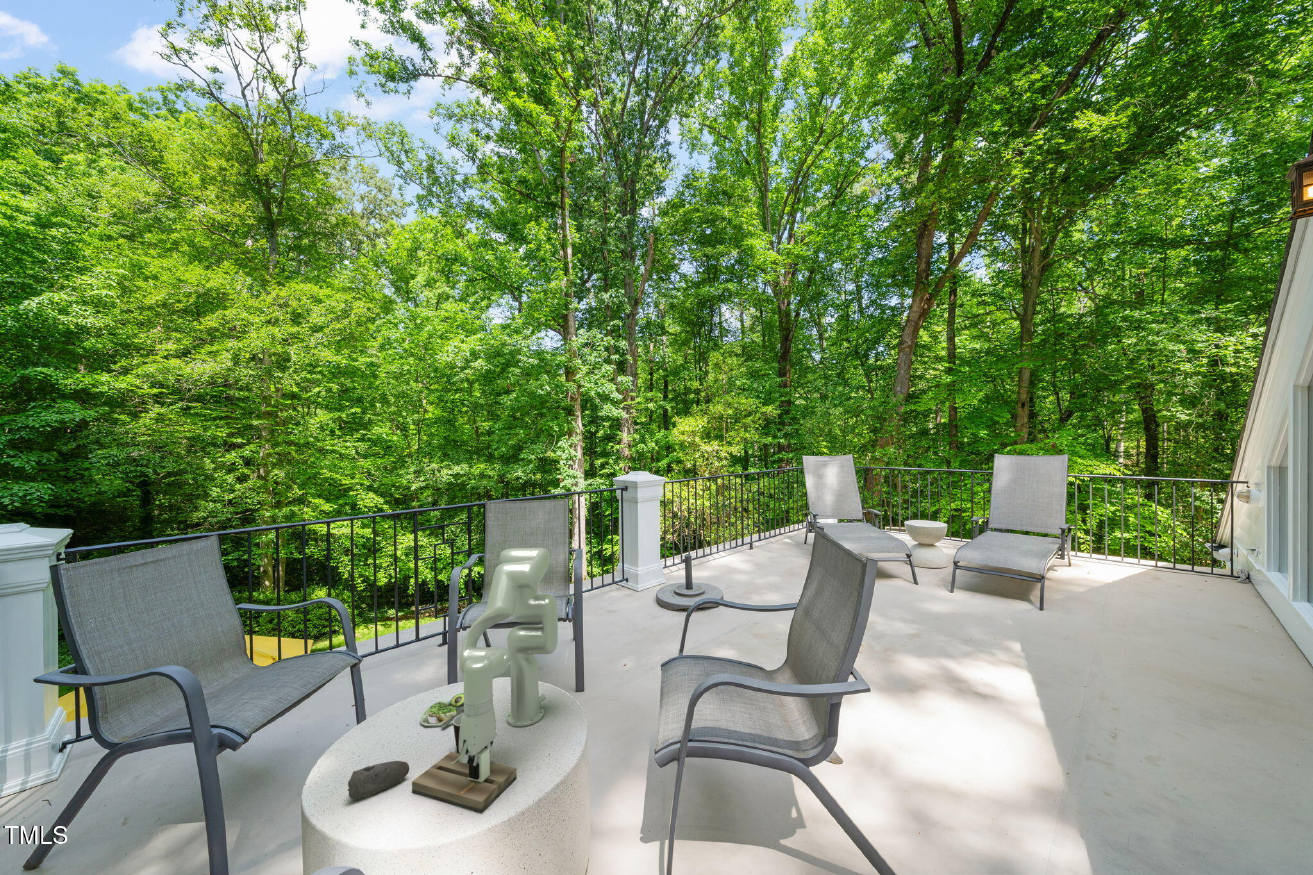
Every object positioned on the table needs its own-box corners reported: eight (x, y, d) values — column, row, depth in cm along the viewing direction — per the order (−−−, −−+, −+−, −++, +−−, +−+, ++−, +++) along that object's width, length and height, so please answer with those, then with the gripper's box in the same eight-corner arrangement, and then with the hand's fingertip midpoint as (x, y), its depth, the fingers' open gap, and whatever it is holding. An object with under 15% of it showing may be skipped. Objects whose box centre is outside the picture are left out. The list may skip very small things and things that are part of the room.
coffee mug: (454, 763, 141) (454, 729, 142) (452, 748, 149) (451, 715, 149) (494, 751, 147) (494, 718, 147) (490, 737, 154) (490, 706, 155)
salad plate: (467, 729, 160) (467, 715, 160) (411, 735, 157) (411, 721, 158) (479, 701, 179) (479, 688, 179) (430, 706, 176) (430, 693, 177)
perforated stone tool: (408, 773, 137) (408, 749, 138) (411, 783, 133) (410, 758, 133) (346, 796, 128) (347, 770, 129) (347, 807, 124) (347, 780, 125)
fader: (476, 777, 132) (476, 745, 132) (489, 780, 130) (489, 748, 131) (468, 784, 129) (468, 752, 129) (481, 788, 127) (481, 755, 128)
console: (451, 761, 142) (451, 750, 142) (516, 778, 133) (516, 767, 133) (412, 792, 129) (412, 780, 129) (481, 813, 120) (481, 800, 120)
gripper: (488, 689, 140) (488, 753, 139) (445, 718, 124) (445, 790, 123) (508, 693, 137) (509, 758, 136) (467, 723, 122) (467, 796, 121)
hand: (479, 772), depth 130 cm, fingers closed on fader, 3 cm apart
